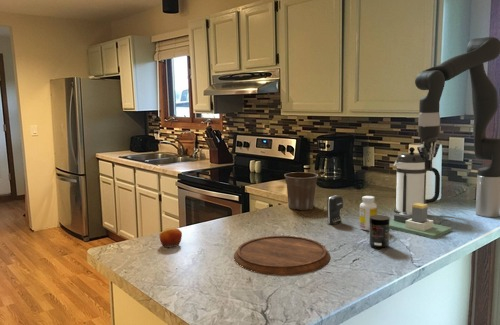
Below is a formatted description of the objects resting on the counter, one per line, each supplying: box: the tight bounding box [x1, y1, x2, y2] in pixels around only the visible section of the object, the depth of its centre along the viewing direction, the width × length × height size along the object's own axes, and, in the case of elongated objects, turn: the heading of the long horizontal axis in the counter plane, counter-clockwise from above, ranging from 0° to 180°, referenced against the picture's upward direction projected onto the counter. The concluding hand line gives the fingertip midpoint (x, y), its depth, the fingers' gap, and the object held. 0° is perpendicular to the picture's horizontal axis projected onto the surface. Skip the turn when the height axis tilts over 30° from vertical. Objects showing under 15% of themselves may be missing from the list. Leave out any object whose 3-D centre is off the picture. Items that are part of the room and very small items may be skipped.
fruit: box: [159, 227, 183, 248], centre depth 155 cm, size 8×8×8 cm
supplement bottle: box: [359, 195, 378, 231], centre depth 169 cm, size 7×7×13 cm
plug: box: [412, 203, 428, 223], centre depth 166 cm, size 4×4×9 cm
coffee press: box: [393, 146, 441, 217], centre depth 188 cm, size 17×16×30 cm
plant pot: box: [283, 171, 319, 211], centre depth 206 cm, size 16×16×16 cm
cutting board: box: [233, 235, 331, 276], centre depth 143 cm, size 32×32×2 cm
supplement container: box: [368, 214, 391, 250], centre depth 149 cm, size 7×7×10 cm
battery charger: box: [326, 195, 344, 225], centre depth 178 cm, size 7×4×11 cm, turn 134°
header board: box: [389, 212, 453, 239], centre depth 168 cm, size 14×22×5 cm, turn 40°
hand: (428, 169), depth 164 cm, fingers closed
